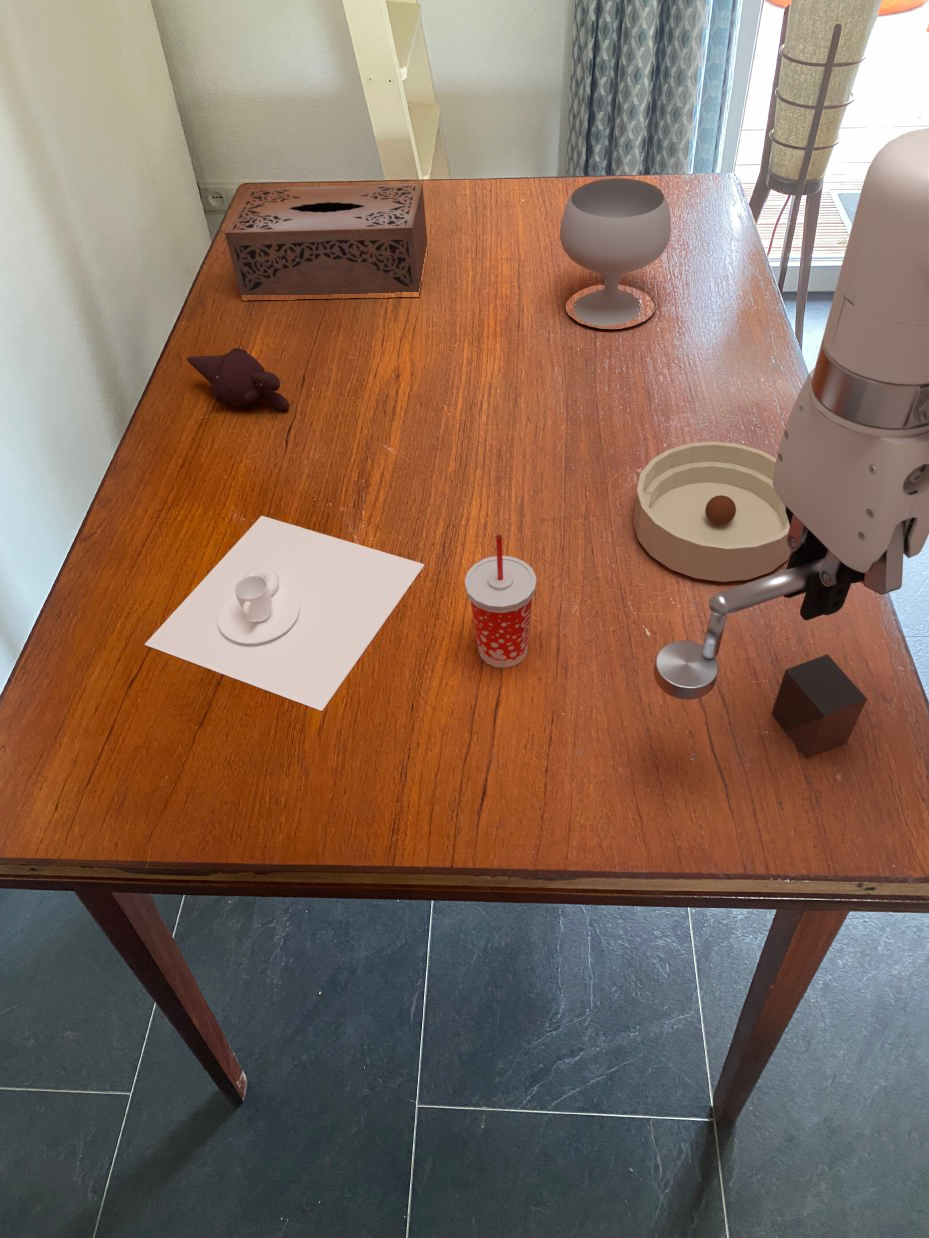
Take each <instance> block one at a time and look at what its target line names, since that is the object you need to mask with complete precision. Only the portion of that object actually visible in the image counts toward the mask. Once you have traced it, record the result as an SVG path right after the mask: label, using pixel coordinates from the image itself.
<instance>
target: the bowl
mask: <svg viewBox="0 0 929 1238" xmlns="http://www.w3.org/2000/svg"><path fill="white" fill-rule="evenodd" d="M775 462H776V457H774V455H773V456H772V454H769V453H768V452H765V450H764V451H763V450H761V449H757V448H754V447H751V446H747V445H744V444H740V443H735V442H734V443H733V442H726V441H725V442H724V441H715V440H711V441H699V442H689V443H685V444H683V445H679V446H675V447H673V448H670V449H666V450H665V451H663V452H661V453H660V454H659V455H657V456H655V457H653V458H652V459H651V460H649V462H648V463H647V465H646V466H644V468H643V470H642V471H641V472H640V474H639V478H638V481H637V487H636V494H635V503H634V511H633V521H632V524H633V527H634V530H635V534H636V538H637V541H638V542H639V543H640V544H641V545H642V547H643V549H645V551H646V552H647V553H648V555H649V556H650V557H652V558H653V559H655V560H656V561H658V562H659V563H660V564H662V565H663V566H664V567H667V568H668V569H669V570H672V571H674V572H677V573H680V574H682V575H685V576H688V577H691V578H693V579H699V580H707V581H713V582H719V583H720V582H721V583H725V582H736V581H737V582H738V581H748V580H751V579H755V578H759V577H760V576H763V575H767V574H770V573H772V572H773V571H774V570H776V569H778V567H780V566H781V565H783V564H784V563H785V562H786V561H789V558H790V555H791V554H792V552H793V551H792V550H790V548H789V547H788V544H787V536H788V532H789V528H790V525H789V521H788V518H787V514H786V510H785V508H786V505H784V503H783V502H782V500H781V499H780V498H779V497H778V495H777V493H776V492H775V490H774V487H773V473H774V467H775ZM719 495H723V496H727V497H729V498H730V499H732V500H733V502H734V503H735V506H736V514H735V516H734V518H733V519H732V521H730V522H729V523H727V524H725V525H716V524H713V523H712V522H710V521H709V520H708V518H707V516H706V513H705V508H706V505H707V503H708V502H709V500H710V499H712V498H713V497H715V496H719Z"/></svg>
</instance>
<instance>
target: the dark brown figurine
mask: <svg viewBox="0 0 929 1238" xmlns="http://www.w3.org/2000/svg"><path fill="white" fill-rule="evenodd" d="M186 361H187V362H188V363H189V364H190V365H191V366H192V367H193V368H194V369H195V370H196V371H197V372H198V374H200V375H202V377H203V378H204V379H205V380H206V381H207V382H208V383H209V384H210V385H211V386H210V388H209V389H210V391H209V392H210V394H211V396H213V397H214V398H215V400H216V402H219V403H222V404H224V405H233V406H235V407H243V406H248V405H251V404H255V403H257V402H258V401H260V400H261V401H263V402H264V403H265V404H267V405H268V406H270V407H271V408H273V409H275V410H278V411H281V412H285V411H286V412H287V411H288V410H289V408H290V403H289V401H288V399H287V398H286V397H284V395H282V394H281V393H280V392H278V391H279V389H280V388H281V381H280V378H279V377H278V376H277V375H276V374H275V373H273V372H270V371H266V370H265V368H264V366H263V365H262V364H261V363H260V362H259V361H258V360H257V359H256V358H255V357H254V356H252V354H249V353H248V351H247V350H246V349H244V348H240V347H234V348H232V349H231V350H230V351H229V352H227V353H225V354H216V355H194V356H187V357H186Z"/></svg>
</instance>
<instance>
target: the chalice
mask: <svg viewBox="0 0 929 1238" xmlns="http://www.w3.org/2000/svg"><path fill="white" fill-rule="evenodd" d="M562 213H563V214H562V218H561V222H560V228H559V240H560V243H561V246H562V249H563V251H564V253H565V254H566V256H568V258H569V259H570V260H571V261H573V262H574V263H575V264H576V265H578V266H580V267H582V268H584V269H586V270H589V271H590V272H591V271H592V272H594V273H597V274H599V276H601V277H602V280H603V282H604V283H603V284H605V287H604V289H602V290H597V291H595V292H594V291H593V292H594V293H593V292H592V293H589V294H587V295H585V296H583V297H580V299H579V298H578V299H579V300H577V299H576V300H577V301H576V302H575V301H574V302H575V303H573V304H574V306H573V308H574V310H575V311H574V310H573V312H575V313H574V314H577V315H575V316H577V317H579V318H578V320H582V321H585V322H587V323H590V324H594V325H596V326H597V325H598V326H599V327H600V326H604V327H605V326H607V325H608V326H611V325H613V324H616V325H618V324H621V323H623V322H625V323H627V322H626V321H628V322H630V321H629V320H632V319H636V317H637V316H640V315H641V314H640V315H638V314H639V312H640V311H641V310H640V307H642V306H640V305H641V304H640V302H639V301H638V300H639V299H640V298H639V299H638V298H635V297H636V296H635V297H634V295H632V294H631V293H628V292H625V291H621V290H619V289H618V284H620V281H621V279H622V278H623V277H624V276H625V275H626V274H629V273H633V272H635V271H639V270H642V269H644V268H646V267H648V266H649V265H651V264H653V263H654V262H655V261H657V260H658V259H659V258H660V257H661V256H662V255H663V254H664V252H665V251H666V250H667V247H668V245H669V243H670V241H671V234H672V223H671V221H672V220H671V211H670V207H669V203H668V201H667V198H666V196H665V194H664V192H663V191H662V190H661V189H660V188H659V187H657V186H656V185H654V184H652V183H649V182H647V181H644V180H639V179H634V178H624V177H623V178H621V177H619V178H617V177H615V178H613V177H612V178H603V179H597V180H593V181H590V182H588V183H585V184H582V185H580V186H579V187H577V188H576V189H574V190H573V192H572V194H571V195H570V196H569V198H568V200H567V202H566V205H565V207H564V209H563V212H562ZM575 304H576V305H575ZM639 304H640V305H639ZM637 309H638V310H637ZM640 313H641V312H640ZM634 316H636V317H634ZM576 319H577V318H576ZM582 321H581V322H582ZM583 323H584V322H583ZM623 324H624V323H623ZM613 326H615V325H613Z"/></svg>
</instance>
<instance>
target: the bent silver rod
mask: <svg viewBox="0 0 929 1238" xmlns="http://www.w3.org/2000/svg"><path fill="white" fill-rule="evenodd" d="M824 559H825V557H823V558H821V559H818V560H815V561H812V562H809V563H806V564H803V565H800V566H797V567H794V568H791V569H788V570H786V569H784V570H782V571H779V572H776V573H773V574H770V575H767V576H764V577H761V578H759V579H755V580H752V581H749V582H746V583H743V584H741V585H738V586H735V587H732V588H728V589H726V590H722V591H720V592H717V593H715V594H713V595H712V596H711V598H709V602H708V607H709V610H710V614H709V619H708V623H707V627H706V633H705V637H704V641H703V644H701V643H700V642H699V643H698V642H696V641H692V640H675V641H672V642H669V643H667V644H665V645H664V646H662V647H661V648H660V649H659V651H658V653H657V654H656V657H655V662H654V668H653V677H654V680H655V683H656V684H657V686H658V687H659V688H660V689H661V690H662V691H663V692H664V693H666V694H667V695H669V696H671V697H673V698H676V699H680V700H690V701H691V700H697V699H701V698H703V697H705V696H706V695H708V694H709V693H711V691H712V690H713V689H714V688H715V685H716V683H717V679H718V674H719V669H720V666H719V662H718V659H717V656H718V655H719V651H720V649H721V643H722V639H723V636H724V631H725V627H726V623H727V619H728V615H732V614H734V613H737V612H741V611H743V610H746V609H749V608H752V607H755V606H758V605H761V604H763V603H767V602H769V601H773V600H775V599H778V598H781V597H784V595H787V594H790V593H793V592H796V591H799V590H802V589H805V588H807V587H808V585H809V581H810V578H811V577H812V576H813V575H815V574H818V573H820V570H821V568H822V565H823V562H824Z"/></svg>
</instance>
